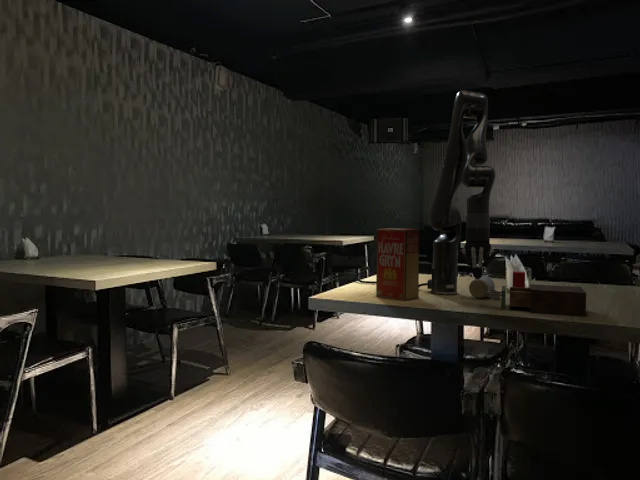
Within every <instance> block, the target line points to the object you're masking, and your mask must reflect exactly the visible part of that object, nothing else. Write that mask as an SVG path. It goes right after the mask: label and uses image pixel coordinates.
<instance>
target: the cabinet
mask: <svg viewBox="0 0 640 480" xmlns="http://www.w3.org/2000/svg"><path fill="white" fill-rule="evenodd" d="M529 288H530V289H531V308H529V310H530V313H535V314H550V315H563V316H575V317H577V316H579V317H586V316H587V292H586V291H585V289H583V288H582V287H581V286H572V285H571V286H570V285H569V286H568V285H553V284H552V285H549V284H535V283H534V284H532V283H530V284H529Z"/></svg>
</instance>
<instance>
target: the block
mask: <svg viewBox="0 0 640 480" xmlns="http://www.w3.org/2000/svg"><path fill="white" fill-rule="evenodd" d="M511 287H520V288H526V271H517V270H516V271H512V286H511Z"/></svg>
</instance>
